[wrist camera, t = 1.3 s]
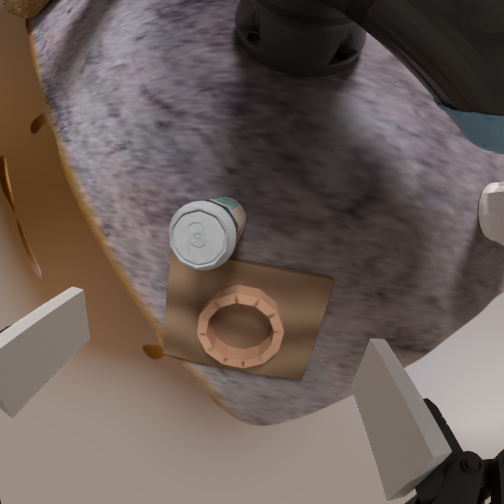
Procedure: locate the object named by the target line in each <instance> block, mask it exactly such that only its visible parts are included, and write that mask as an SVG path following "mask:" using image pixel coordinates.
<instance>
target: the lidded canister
mask: <svg viewBox="0 0 504 504" xmlns="http://www.w3.org/2000/svg"><path fill="white" fill-rule="evenodd" d="M245 225H246V214H245V211H244V209H243V207H242V206H241V205H240V203H239V202H237V201H236V200H234V199H232V198H229V197H219V198H216V199H210V200H205V201H196V202H191V203H189V204H186V205H184V206H183V207H182V208H180V209H179V210H178V211H177V212H176V214H175V215H174V216H173V218H172V220H171V222H170V225H169V230H168V238H169V244H170V247H171V249H172V252H173V253H174V255H175V256H176V257H177V259H178V260H179V261H180V262H181V263H183V264H184V265H186V266H188V267H190V268H193V269H196V270H211V269H214V268H217V267H219V266H220V265H222V264H223V263H225V262H226V261H227V260H228V258H229V257H230V256H231V255H232V253H233V251H234V249H235V247H236V245H237V243H238V241H239V239H240V237H241V235H242V233H243V231H244V229H245Z"/></svg>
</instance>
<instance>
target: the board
mask: <svg viewBox="0 0 504 504" xmlns="http://www.w3.org/2000/svg"><path fill="white" fill-rule="evenodd" d="M334 281H335V280H334V279H333V278H332V277H328V276H323V275H318V274H313V273H308V272H302V271H297V270H292V269H287V268H282V267H277V266H272V265H267V264H261V263H256V262H251V261H246V260H241V259H236V258H231V257H229V258H228V260H227V261H226V262H225V263H223V264H222V265H220V266H219V267H217V268H214V269H211V270H196V269H193V268H190V267H188V266H186V265H184V264H183V263H181V262H180V261H179V260H178V259H177V257H176V256H175V255H174V253H173V252H172V250H171V258H170V268H169V277H168V288H167V300H166V313H165V329H164V350H163V353H164V354H167V355H171V356H175V357H178V358H182V359H186V360H190V361H194V362H199V363H203V364H207V365H212V366H216V367H221V368H226V369H231V370H236V371H242V372H247V373H253V374H259V375H265V376H272V377H279V378H287V379H295V380H301V379H302V377H303V374H304V371H305V369H306V366H307V363H308V361H309V358H310V355H311V352H312V350H313V347H314V344H315V341H316V338H317V335H318V332H319V329H320V326H321V323H322V320H323V317H324V314H325V311H326V308H327V304H328V301H329V298H330V295H331V291H332V288H333V284H334ZM235 285H242V286H247V287H252V288H257V289H261V290H262V291H263V292H264V293H265V294H267V295H268V296H269V297H270V298H271V299H273V300H274V301H275V302H276V303H277V305H278V308H279V311H280V314H281V317H282V320H283V326H284V334H283V338H282V341H281V345H280V348H279V351H277V352H276V353H275V354H274V355H273V356H272V357H271V358H269V359H268V360H267V361H266V362H265V363H263V364H259V365H255V366H251V367H247V368H239V367H234V366H229V365H224V364H222V363H220V362H219V361H217V360H216V359H215V358H213V357H212V356H210V355H209V354H208V353H206V352H205V350H204V348H203V346H202V344H201V342H200V340H199V337H198V335H197V330H198V322H199V315H200V313H201V311H202V309H203V307H204V305H205V304H206V303H207V302H208V301H209V300H210V299H211V298H212V296H213V295H214V294H215V293H216V292H217V291H219V290H222V289H226V288H229V287H232V286H235ZM210 324H211V326H212V328H213V331H214V333H215V335H216V337H217V338H218V339H220V340H221V341H222V342H224V343H225V344H226V345H228V346H230V347H235V348H240V349H247V348H251V347H255V346H259V345H260V344H261V343H262V342H263V341H265V340H266V339H267V338H268V337H269V336H270V334H271V330H272V325H271V322H270V319H269V317H268V316H266V315H265V314H264V313H263V312H261V311H260V310H259V309H258V308H256V307H255V306H250V305H245V304H240V303H234V304H231V305H227V306H224V307H220V308H219V309H218V310H217V311H216V312H215V313H214V314H213V315H212V316H211V323H210Z"/></svg>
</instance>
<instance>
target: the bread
mask: <svg viewBox="0 0 504 504" xmlns="http://www.w3.org/2000/svg"><path fill="white" fill-rule="evenodd" d="M49 1H50V0H3V4H4V5H5V8H6V9H7V11H8V12H10V13H12V14H14V15H17V16H19V17H23V18H33V17H35V16H36V15H37V14H38V13H39V12H41V10H42V9H43V8H44V7H45V6H46V5H47V3H48V2H49Z"/></svg>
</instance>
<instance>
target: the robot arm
mask: <svg viewBox="0 0 504 504" xmlns="http://www.w3.org/2000/svg"><path fill="white" fill-rule="evenodd" d="M235 24H236V29H237V34H238V37H239V40H240V42H241V44H242V45H243V47H244V48H245V49H246V51H247V52H248V53H249V54H250V55H251V56H252V57H254V58H255V59H256V60H258V61H259V62H261V63H262V64H264V65H266V66H268V67H270V68H272V69H274V70H277V71H280V72H283V73H286V74H291V75H296V76H306V77H316V76H325V75H330V74H333V73H336V72H339V71H341V70H343V69H344V68H346V67H348V66H349V65H350V64H351V63H352V62H353V61H354V60H355V59H356V57H357V56H358V55H359V53H360V52H361V50H362V49H363V46H364V44H365V40H366V31H367V32H368V33H369V34H370V35H371V36H373V37H374V38H375V39H376V40H377V41H379V42H380V43H381V44H382V45H383V46H384V47H385V48H386V49H388V50H389V51H390V52H391V53H392V54H393V55H394V56H395V57H396V58H397V59H398V60H399V61H400V62H401V63H402V64H403V65H404V66H405V67H406V68H407V69H408V70H409V71H410V72H411V73H412V74H413V75H414V76H415V77H416V78H417V79H418V80H419V81H420V82H421V83H422V85H423V86H424V87H425V88H426V89H427V90H428V91H429V93H430V94H431V95H432V96H433V97H434V99H433V100H434V102H435V103H436V105H437V106H438V107H439V108H440V109H442V110H444V111H445V112H446V113H447V114H448V115H449V117H450V118H451V119H452V120H453V121H454V123H455V124H456V125H457V127H458V128H459V129H460V130H461V132H462V133H463V134H464V136H465V137H466V138H467V139H468V140H469V141H470V142H472V143H473V144H474V145H476V146H478V147H480V148H482V149H485V150H487V151H494V152H495V153H498V154H504V0H240V2H239V4H238V7H237V10H236V14H235ZM89 339H90V334H89V328H88V321H87V314H86V306H85V297H84V290H83V289H79V288H76V287H71V288H69V289H67V290H66V291H64V292H63V293H61V294H59V295H58V296H56V297H55V298H53V299H51V300H50V301H48V302H47V303H45V304H43V305H42V306H40V307H39V308H37V309H36V310H34V311H32V312H31V313H29V314H28V315H26V316H25V317H23V318H22V319H21V320H19V321H17V322H16V323H14V324H13V325H11V326H8V327H6V328H5V329H3V330H2V331H0V408H1V409H2V410H3V411H4V412H5V413H7V414H8V415H9V416H10V417H12V418H13V417H15V415H16V414H17V413H18V412H19V411H20V410H21V409H22V408H23V406H24V405H25V404H26V403H27V402H28V401H29V400H30V399H31V398H32V397H33V396H34V395H35V394H36V392H38V390H39V389H40V388H41V387H42V386H43V385H44V384H45V383H46V382H47V381H48V380H49V379H50V378H51V377H52V376H53V375H54V374H55V373H56V372H57V371H58V370H59V369H60V368H61V367H62V366H63V365H64V364H65V363H66V362H67V361H68V360H69V359H70V358H71V357H72V356H73V355H74V354H75V353H76V352H77V351H78V350H79V349H80V348H81V347H82V346H83V345H84V344H85V343H86V342H87V341H88V340H89ZM351 387H352V390H353V393H354V396H355V399H356V402H357V405H358V408H359V411H360V413H361V417H362V419H363V423H364V426H365V429H366V432H367V435H368V438H369V441H370V444H371V448H372V451H373V454H374V457H375V461H376V464H377V467H378V471H379V474H380V477H381V481H382V485H383V488H384V492H385V495H386V499H387V501H388V500H393V499H397V498H401V497H404V496H406V495H407V494H409V493H410V492H411V491H412V490H413V489H414V488H415V489H416V492H417V494H416V495H415V496H414V497H413V498H411V499H410V500H409V501H407V502H406V503H405V504H485V500H486V499H488V498H489V497H490V496H491V502H490V503H489V504H504V450H502V451H501V452H500V453H499V454H498V455H497V456H496V457H495V458H494V459H485V460H482V459H481V458H480V457H479V456H478V454H476V453H474V452H471V451H465V452H463V450H462V449H461V447H460V445H459V443H458V441H457V440H456V438H455V436H454V435H453V433H452V431H451V429H450V428H449V426H448V425H446V421H445V419H444V418H443V417H442V414H441V413H440V411H439V409H438V408H437V406H436V405H435V404H434V403H432V402H431V401H430V400H429V399H428V398H427V399H422V397H421V395H420V394H419V392H418V390H417V389H416V387H415V386H414V384H413V382H412V381H411V379H410V378H409V376H408V374H407V373H406V371H405V369H404V368H403V366H402V365H401V363H400V362H399V360H398V358H397V357H396V355H395V354H394V352H393V351H392V349H391V348H390V346H389V345H388V343H387V342H386V340H385V339H372V338H370V340H369V343H368V345H367V348H366V351H365V353H364V356H363V358H362V361H361V363H360V365H359V368H358V370H357V373H356V375H355V377H354V379H353V382H352V384H351ZM0 504H1V501H0Z"/></svg>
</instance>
